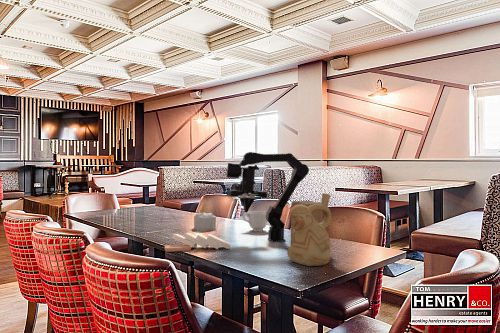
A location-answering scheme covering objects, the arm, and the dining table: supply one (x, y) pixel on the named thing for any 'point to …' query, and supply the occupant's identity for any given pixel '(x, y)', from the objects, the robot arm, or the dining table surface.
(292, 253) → the ceramic vessel
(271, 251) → the dining table surface
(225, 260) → the dining table surface
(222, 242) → the domino
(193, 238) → the domino
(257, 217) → the teacup
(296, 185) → the robot arm
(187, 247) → the domino
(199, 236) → the beige jagged slab
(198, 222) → the lumpy-topped squat cylinder
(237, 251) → the dining table surface
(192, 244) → the domino
